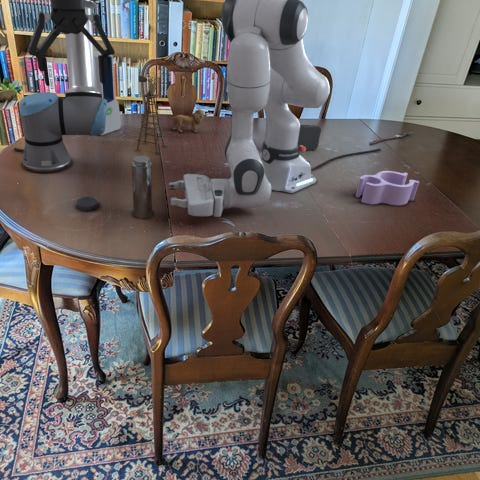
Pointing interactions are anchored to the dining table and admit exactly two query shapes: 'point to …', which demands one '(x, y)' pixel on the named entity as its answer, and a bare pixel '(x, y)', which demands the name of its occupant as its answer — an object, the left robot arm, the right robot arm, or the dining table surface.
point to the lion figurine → (189, 120)
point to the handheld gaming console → (309, 136)
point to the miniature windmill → (150, 95)
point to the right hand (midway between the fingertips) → (169, 193)
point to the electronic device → (108, 95)
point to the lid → (87, 204)
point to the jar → (142, 186)
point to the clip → (386, 188)
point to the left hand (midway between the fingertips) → (75, 83)
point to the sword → (389, 138)
